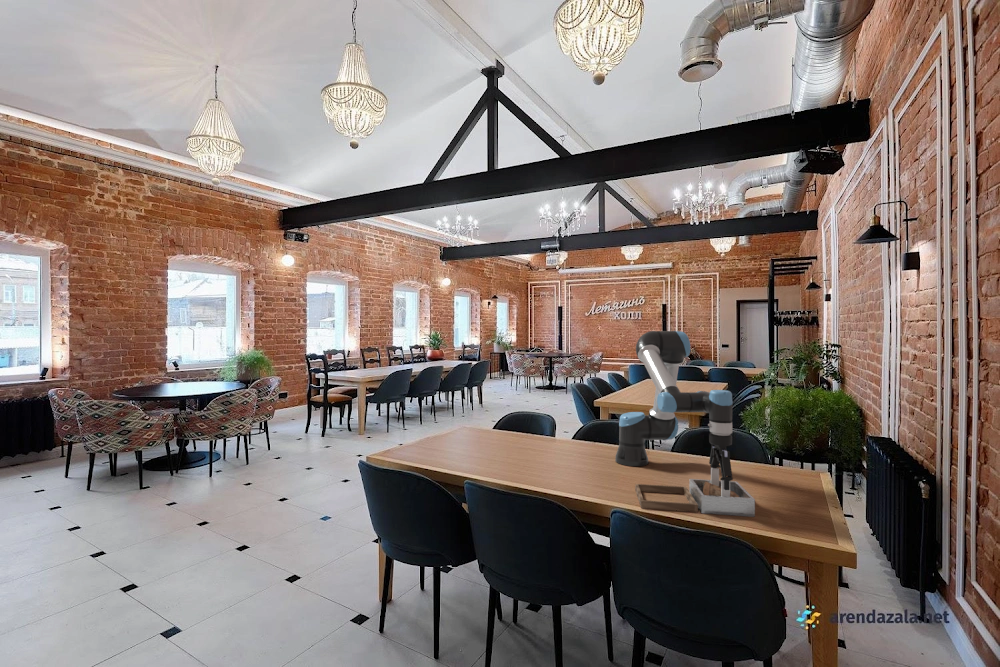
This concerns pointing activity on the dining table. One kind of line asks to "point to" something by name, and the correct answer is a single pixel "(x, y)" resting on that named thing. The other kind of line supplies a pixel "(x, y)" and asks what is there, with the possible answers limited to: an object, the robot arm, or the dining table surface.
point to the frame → (662, 505)
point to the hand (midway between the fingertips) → (720, 491)
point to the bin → (723, 500)
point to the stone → (715, 490)
